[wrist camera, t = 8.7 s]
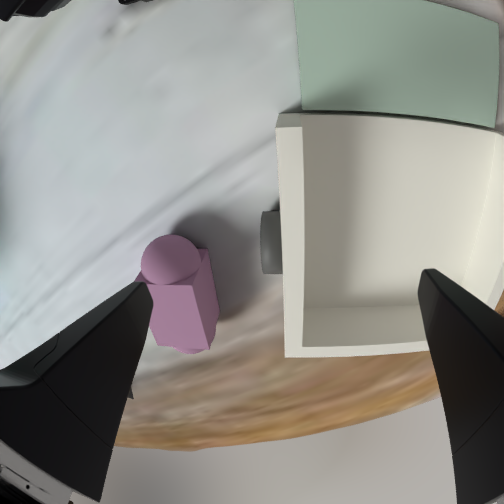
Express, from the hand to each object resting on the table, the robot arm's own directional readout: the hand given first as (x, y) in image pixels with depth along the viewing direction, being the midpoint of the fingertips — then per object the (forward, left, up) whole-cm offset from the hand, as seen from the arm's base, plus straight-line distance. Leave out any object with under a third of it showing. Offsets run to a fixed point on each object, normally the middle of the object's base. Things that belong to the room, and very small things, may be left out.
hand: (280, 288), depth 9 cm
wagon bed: (+4, +8, -12) cm, 15 cm away
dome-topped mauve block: (+9, -8, -12) cm, 17 cm away
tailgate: (-4, +8, -11) cm, 14 cm away
